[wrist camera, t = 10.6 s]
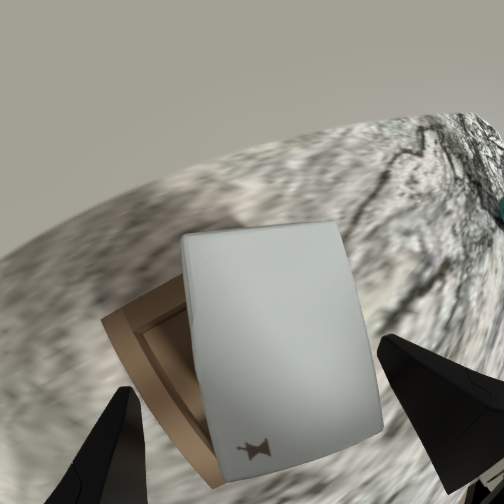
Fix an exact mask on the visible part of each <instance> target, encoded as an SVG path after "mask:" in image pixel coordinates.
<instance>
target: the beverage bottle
mask: <svg viewBox="0 0 504 504" xmlns="http://www.w3.org/2000/svg"><path fill="white" fill-rule="evenodd" d="M502 197H503V196H502ZM499 210H500V213H501V216H502V219H503V221H504V197H503V198H501V200H500V201H499Z"/></svg>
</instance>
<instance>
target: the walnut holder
mask: <svg viewBox="0 0 504 504" xmlns="http://www.w3.org/2000/svg"><path fill="white" fill-rule="evenodd" d="M101 322H102V324H103V326H104V328H105V330H106V333H107V335H108V337H109V339H110V341H111V343H112V345H113V347H114V349H115V351H116V353H117V355H118V357H119V358H120V360H121V362H122V364H123V366H124V368H125V369H126V371H127V373H128V375H129V377H130V378H131V380H132V382H133V383H134V385H135V387H136V388H137V390H138V392H139V393H140V395H141V397H142V398H143V400H144V401H145V403H146V405H147V406H148V408H149V409H150V411H151V412H152V414H153V415H154V417H155V418H156V420H157V421H158V422H159V424H160V425H161V427H162V428H163V430H164V431H165V432H166V434H167V435H168V436H169V438H170V439H171V440H172V442H173V443H174V444H175V446H176V447H177V448H178V450H179V451H180V452H181V453H182V455H183V456H184V457H185V458H186V460H187V461H188V462H189V463H190V464H191V466H192V467H193V468H194V469H195V470H196V471H197V473H198V474H199V475H200V476H201V477H202V478H203V479H204V480H205V482H206V483H207V484H208V485H209V486H210V487H211V488H212V489H214V488H217V487H219V486H221V485H223V484H225V483H227V481H225V480H224V479H223V478H222V475H221V472H220V468H219V465H218V462H217V459H216V455H215V452H214V448H213V444H212V440H211V436H210V432H209V428H208V424H207V420H206V416H205V412H204V407H203V403H202V398H201V392H200V387H199V382H198V379H197V375H196V371H195V366H194V359H193V351H192V339H191V331H190V325H189V318H188V311H187V304H186V296H185V288H184V280H183V274H181V275H179V276H177V277H175V278H174V279H172V280H170V281H168V282H166V283H165V284H163V285H161V286H159V287H157V288H156V289H154V290H152V291H150V292H148V293H147V294H145V295H143V296H141V297H139V298H138V299H136V300H134V301H132V302H131V303H129V304H127V305H125V306H123V307H122V308H120V309H118V310H116V311H115V312H113V313H111V314H109V315H108V316H106V317H104V318H102V319H101Z"/></svg>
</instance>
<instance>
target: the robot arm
mask: <svg viewBox="0 0 504 504" xmlns="http://www.w3.org/2000/svg"><path fill="white" fill-rule="evenodd" d="M377 357H378V359H379V361H380V363H381V366H382V368H383V370H384V372H385V375H386V377H387V379H388V381H389V384H390V386H391V388H392V389H393V391H394V393H395V395H396V397H397V398H398V400H399V402H400V404H401V405H402V407H403V409H404V411H405V413H406V414H407V416H408V418H409V420H410V422H411V423H412V425H413V427H414V429H415V431H416V433H417V435H418V437H419V438H420V440H421V442H422V444H423V446H424V448H425V450H426V452H427V454H428V456H429V458H430V460H431V462H432V464H433V466H434V468H435V470H436V472H437V474H438V476H439V478H440V480H441V482H442V484H443V487H444V489H445V491H446V493H447V494H448V495H449V494H451V493H453V492H455V491H456V490H458V489H460V488H461V487H463V486H465V485H466V484H468V483H469V482H471V481H472V480H474V479H475V478H477V477H478V478H477V479H476V480H475V481H474V482H473V483H472V484H471V485H470V486H469V487H468V490H467V495H466V499H465V503H464V504H504V381H501V380H498V379H495V378H492V377H489V376H486V375H483V374H481V373H478V372H476V371H473V370H471V369H469V368H467V367H464V366H462V365H460V364H458V363H455V362H453V361H451V360H449V359H447V358H444V357H442V356H440V355H438V354H436V353H433V352H431V351H429V350H427V349H425V348H423V347H420V346H418V345H416V344H414V343H412V342H410V341H407V340H405V339H403V338H401V337H399V336H397V335H395V334H387V335H385V336H383V337H382V338H381V341H380V344H379V346H378V349H377ZM44 504H148V501H147V487H146V467H145V441H144V433H143V424H142V414H141V405H140V401H139V399H138V397H137V395H136V393H135V392H134V390H133V388H132V387H131V386H121V387H119V388H118V390H117V391H116V393H115V394H114V396H113V397H112V399H111V400H110V402H109V403H108V405H107V407H106V408H105V410H104V411H103V413H102V414H101V416H100V418H99V419H98V421H97V422H96V424H95V426H94V427H93V429H92V430H91V432H90V434H89V435H88V437H87V439H86V440H85V442H84V443H83V445H82V447H81V448H80V450H79V452H78V453H77V455H76V457H75V458H74V460H73V463H71V465H70V467H69V468H68V470H67V472H66V473H65V475H64V476H63V478H62V480H61V481H60V483H59V484H58V485H57V487H56V488H55V490H54V491H53V492H52V494H51V495H50V496H49V498H48V499H47V500H46V502H45V503H44Z"/></svg>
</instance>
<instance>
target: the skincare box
mask: <svg viewBox="0 0 504 504" xmlns="http://www.w3.org/2000/svg"><path fill="white" fill-rule="evenodd" d="M180 253H181V262H182V271H183V280H184V288H185V296H186V304H187V311H188V318H189V325H190V331H191V339H192V351H193V359H194V366H195V371H196V375H197V379H198V382H199V387H200V392H201V398H202V403H203V407H204V412H205V416H206V420H207V424H208V428H209V432H210V436H211V440H212V444H213V448H214V452H215V455H216V459H217V462H218V465H219V468H220V472H221V475H222V478H223V479H224V480H225V481H227V482H234V481H239V480H244V479H249V478H253V477H258V476H262V475H266V474H270V473H273V472H277V471H281V470H284V469H288V468H291V467H294V466H297V465H301V464H304V463H307V462H310V461H313V460H316V459H319V458H322V457H325V456H327V455H330V454H333V453H335V452H338V451H341V450H343V449H346V448H348V447H351V446H353V445H355V444H357V443H359V442H361V441H364V440H366V439H368V438H370V437H372V436H374V435H376V434H378V433H379V432H381V431H382V430H383V428H384V424H383V418H382V410H381V403H380V397H379V390H378V384H377V378H376V372H375V367H374V362H373V357H372V352H371V348H370V343H369V339H368V334H367V330H366V326H365V322H364V318H363V314H362V310H361V306H360V302H359V298H358V294H357V290H356V287H355V283H354V279H353V276H352V272H351V269H350V265H349V262H348V259H347V255H346V252H345V249H344V245H343V242H342V239H341V235H340V232H339V229H338V225H337V223H336V221H335V220H327V221H316V222H302V223H290V224H277V225H266V226H255V227H244V228H234V229H224V230H214V231H205V232H196V233H187V234H184V235H183V236H182V237H181V239H180Z"/></svg>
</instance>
